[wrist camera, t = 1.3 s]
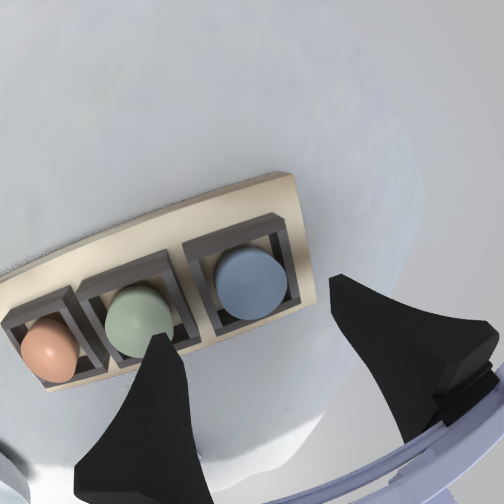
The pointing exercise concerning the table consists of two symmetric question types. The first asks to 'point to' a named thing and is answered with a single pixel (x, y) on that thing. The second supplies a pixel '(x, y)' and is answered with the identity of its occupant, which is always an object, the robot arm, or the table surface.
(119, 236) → the button board
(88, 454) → the robot arm
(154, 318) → the button sage
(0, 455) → the cereal bowl
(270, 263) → the button blue
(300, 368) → the table surface
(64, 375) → the button terracotta
